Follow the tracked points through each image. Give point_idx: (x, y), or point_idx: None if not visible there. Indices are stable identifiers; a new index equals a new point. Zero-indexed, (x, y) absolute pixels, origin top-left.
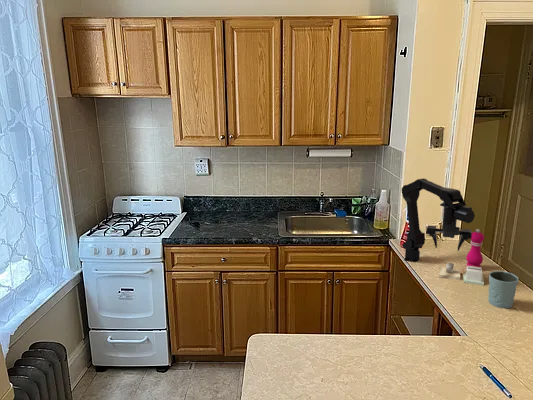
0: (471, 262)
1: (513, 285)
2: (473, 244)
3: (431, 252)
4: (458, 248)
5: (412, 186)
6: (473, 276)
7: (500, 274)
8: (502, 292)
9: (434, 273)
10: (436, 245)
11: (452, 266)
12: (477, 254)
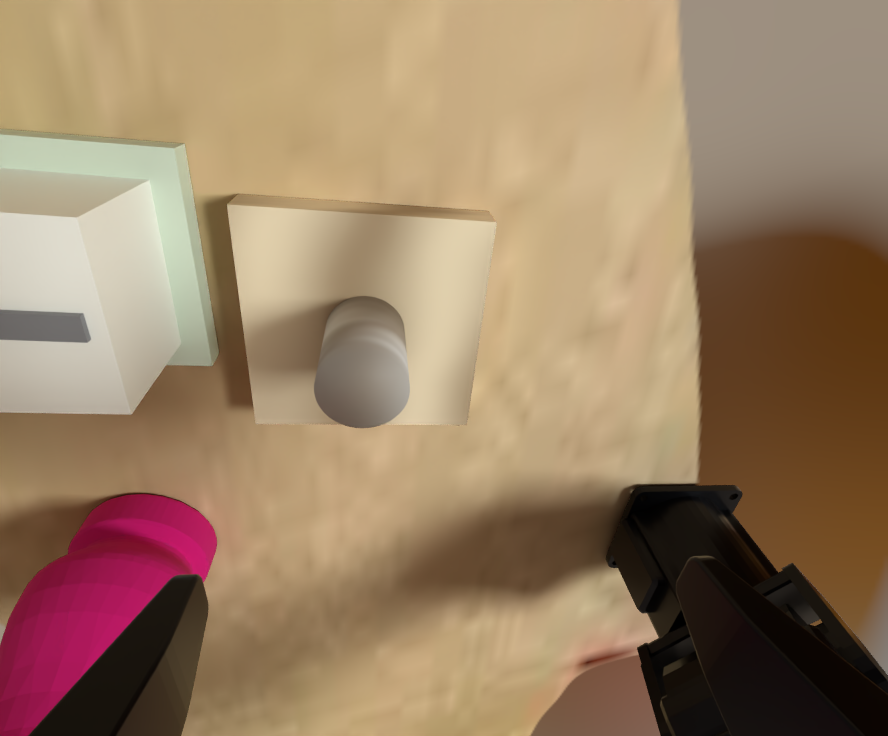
0: (135, 556)
1: None
2: None
3: (489, 655)
4: (145, 642)
5: None
6: (10, 185)
7: None
8: None
9: (520, 304)
10: (758, 621)
11: (331, 350)
12: (26, 674)
